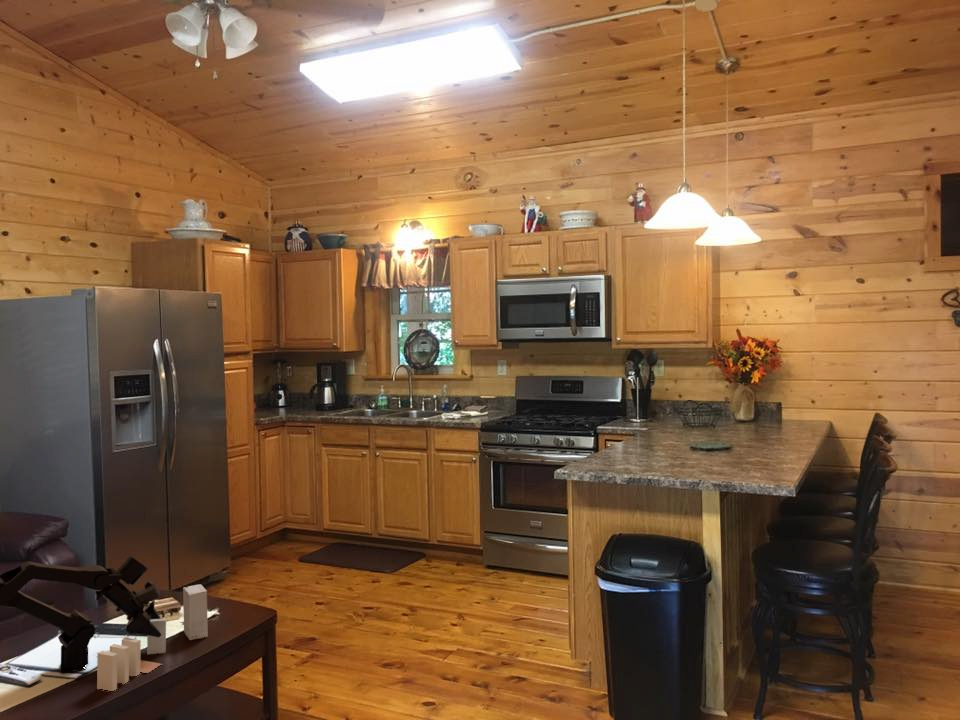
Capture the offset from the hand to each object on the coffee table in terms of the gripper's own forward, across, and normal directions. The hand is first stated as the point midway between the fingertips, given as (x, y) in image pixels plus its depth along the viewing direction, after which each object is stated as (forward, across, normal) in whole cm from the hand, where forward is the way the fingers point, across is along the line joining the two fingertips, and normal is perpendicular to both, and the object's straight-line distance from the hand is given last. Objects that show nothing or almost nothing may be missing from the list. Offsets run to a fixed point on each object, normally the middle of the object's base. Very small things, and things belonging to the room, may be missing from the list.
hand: (161, 630), depth 228 cm
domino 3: (0, -13, +10) cm, 16 cm away
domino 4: (+4, 0, +6) cm, 7 cm away
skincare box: (+11, +11, -1) cm, 16 cm away
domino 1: (-4, -20, +13) cm, 25 cm away
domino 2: (-2, -17, +11) cm, 20 cm away
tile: (+2, -9, +8) cm, 12 cm away
